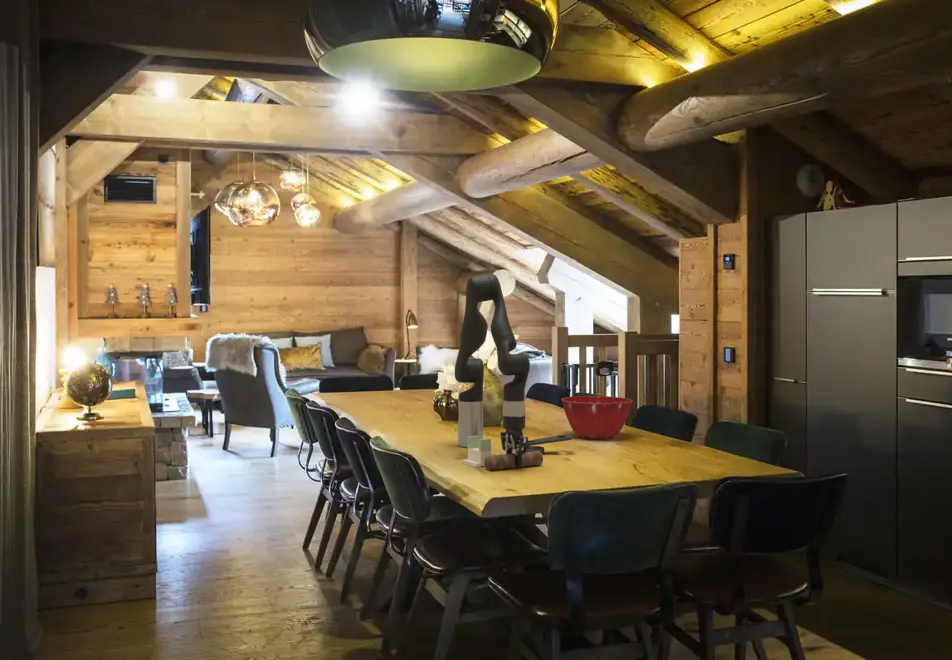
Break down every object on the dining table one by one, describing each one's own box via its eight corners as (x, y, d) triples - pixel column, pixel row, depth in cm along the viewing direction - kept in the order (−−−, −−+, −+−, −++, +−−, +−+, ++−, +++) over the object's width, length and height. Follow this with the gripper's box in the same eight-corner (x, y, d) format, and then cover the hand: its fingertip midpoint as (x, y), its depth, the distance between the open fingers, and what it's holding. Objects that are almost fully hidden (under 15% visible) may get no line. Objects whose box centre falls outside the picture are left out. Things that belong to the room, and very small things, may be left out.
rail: (491, 471, 300) (491, 456, 300) (484, 469, 304) (484, 455, 304) (543, 466, 310) (542, 451, 310) (535, 464, 314) (535, 450, 314)
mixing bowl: (561, 431, 388) (561, 394, 387) (629, 432, 385) (630, 395, 385) (560, 442, 360) (561, 402, 359) (634, 443, 357) (635, 403, 356)
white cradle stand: (475, 467, 307) (475, 440, 307) (462, 463, 315) (462, 436, 314) (530, 461, 318) (530, 435, 318) (516, 457, 326) (516, 432, 325)
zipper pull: (574, 437, 330) (504, 438, 328) (574, 455, 331) (504, 456, 328) (569, 433, 339) (501, 434, 337) (569, 451, 340) (501, 452, 337)
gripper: (493, 412, 310) (493, 462, 311) (516, 417, 298) (515, 469, 299) (512, 411, 314) (512, 460, 315) (535, 415, 302) (535, 467, 302)
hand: (514, 464), depth 307 cm, fingers closed on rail, 4 cm apart
